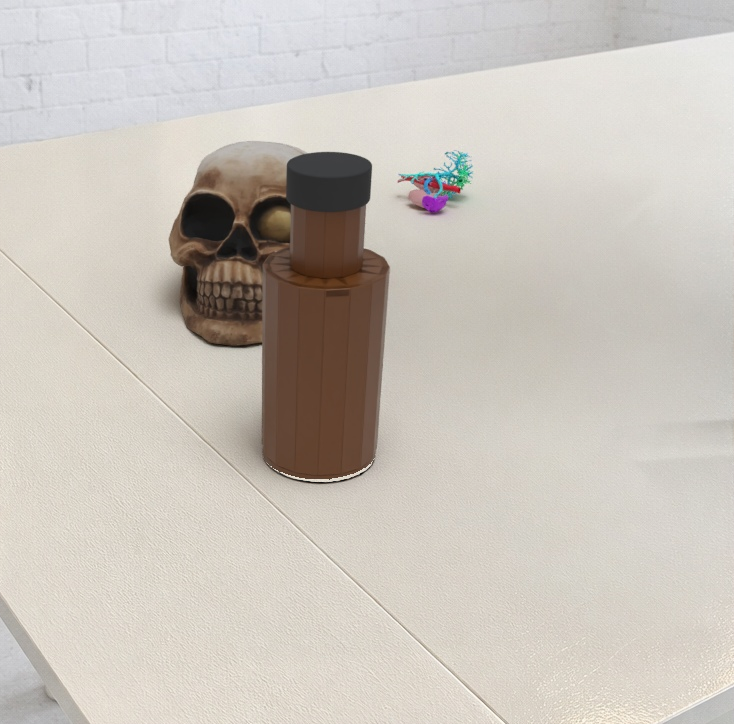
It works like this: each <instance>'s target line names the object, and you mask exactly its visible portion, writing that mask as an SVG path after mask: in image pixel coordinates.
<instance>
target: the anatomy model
mask: <svg viewBox="0 0 734 724" xmlns="http://www.w3.org/2000/svg"><path fill="white" fill-rule="evenodd" d="M455 152H457V153H455ZM449 154H451V155H450V156H449ZM468 154H469V153H468V152H465V153H464V152H461V151H460V150H457V149H455V150H453V151H450V152H449V151H446V152H444V156H446V158H448V160H451V161H452V162H453V163H454V165H455V167H454V168H452V169H451V167H452V166H453V163H452V162H450V165H446V161H443V166H444V167H445V168H446V169H447V170H445V169H442V167H441V166H440V168H436V167H433V171H437V172H424V171H419V172H418V173H413V174H411V173H410V174H404V173H398V176H399V177H400V178H399V179H397V184H398V183H401V182H410V183H411V184H412V185H414V187H416V188H417V189H413V190H410V191H409V192H408V194H407V195H408V199H409V201H410V202H411V203H412V204H414V205H416V206H417V207H419V208H422V209H425V210H427V211H428V212H429V213H432V214H434V213H437V212H439V211H441V210H442V209H444V208H445V206H446V205H447V202H448V199H455V197H453V195H455V196H457V197H460V195H459V194H460V193H461V191H463V190H464V187H465V184H470V185H471V184H472V183H471V182H472V181H471V180H470V179H469V178H471V179H472V180H473V178H474V177H473V176H472V175H474V171H472V170H471V169H472V168H473V167H474V165H473V163H471V164H468V163H467V162H472V161H473V159H470V160H468V158H471V156H470V155H468ZM452 155H453V156H452ZM454 156H455V157H454ZM440 171H441V172H440ZM455 171H456V174H454V173H455ZM443 179H444V180H443Z"/></svg>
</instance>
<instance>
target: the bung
mask: <svg viewBox="0 0 734 724" xmlns="http://www.w3.org/2000/svg"><path fill="white" fill-rule="evenodd" d="M306 153H307V154H303V155H299V156H296V157H294V158H292V159H290V160H289V161H288V163H287V176H286V199H287V201H288V202H289V203H290V204H292V205H293V206H296V207H298V208H301V209H305V210H310V211H318V212H342V211H349V210H353V209H357V208H360V207H363V206H364V205H366V206H367V204H369V202H370V201H371V193H372V176H373V164H372V162H371V161H370V160H369V159H368V158H366V157H363V156H361V155H358V154H353V153H349V152H342V151H341V152H339V151H315V152H306Z"/></svg>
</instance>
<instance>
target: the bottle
mask: <svg viewBox="0 0 734 724" xmlns="http://www.w3.org/2000/svg"><path fill="white" fill-rule="evenodd" d="M366 215H367V204H366V205H364V206H363V207H360V208H357V209H353V210H349V211H342V212H318V211H310V210H305V209H301V208H298V207H296V206H293V205H292V204H291V224H290V247H287V248H283V249H281V250H279V251H277V252H275V253H272V254H270V255H269V256H268V257H267V259H266V260H265V262H264V263H263V288H262V343H261V447H262V448H261V449H262V450H261V451H262V453H263V454H262V458H263V457H264V458H263V460H264V459H265V460H264V462H265V461H266V462H267V463H268V464H269V465H270V466H272V468H274V469H276V470H278V471H279V472H283V473H285V474H288V475H291V476H295V477H299V478H305V479H329V480H330V479H332V478H338V477H343V476H347V475H350V474H354V473H356V472H358V471H360V470H362V469H363V468H366V467H367V466H368V465H369V464H371V462H372V461H373V459H374V458H375V459H376V455H375V454H377V453H376V452H377V448H378V440H379V439H378V437H379V425H380V424H379V423H380V409H381V399H382V398H381V396H382V381H383V369H384V368H383V367H384V355H385V342H386V329H387V328H386V326H387V313H388V300H389V286H390V273H391V266H390V265H389V262H388V261H387V260H386V258H385V257H384V256H382V255H380V254H379V253H377V252H375V251H373V250H371V249H370V248H369V249H368V248H365V234H366V233H365V232H366ZM266 462H265V463H266ZM267 463H266V464H267Z"/></svg>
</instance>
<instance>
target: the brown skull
mask: <svg viewBox="0 0 734 724" xmlns="http://www.w3.org/2000/svg"><path fill="white" fill-rule="evenodd" d="M307 153H308V152H307V151H305V150H303V149H301V148H300V147H296V146H293V145H290V144H287V143H282V142H276V141H275V142H274V141H264V140H245V141H237V142H234V143H229V144H227V145H224V146H222V147H219V148H218V149H216V150H214V151H212V152H211V153H209V154H207V155H206V156H205V157H203V159H202V160H201V161H200V163H199V165H198V167H197V169H196V174H195V177H194V180H193V184H192V187H191V189H190V190H189V191H188V193H187V194H186V195H185V197H184V198H183V201H182V204H181V206H180V208H179V209H180V210H179V213H177V215H176V218H175V219H174V221H173V224H172V227H171V229H170V233H169V236H168V244H169V250H170V257H171V259H172V261H173V262H174V264H177V265H178V266H180V267H182V275H181V279H180V280H181V284H180V285H181V286H180V294H179V295H180V296H179V304H180V308H181V313H182V317H183V318H184V322H185V326H186V328H187V329H189V330H190V331H191V332H192V333H195V334H197V335H199V336H201V337H202V338H203V340H205V341H207V342H208V343H210V344H214V345H225V346H232V347H234V346H246V345H247V346H248V345H251V344H262V288H263V263H264V262H265V260H266V259H267V257H268V256H269V255H270V254H272V253H275V252H277V251H279V250H281V249H283V248H287V247H290V224H291V204H290V203H289V202H288V201H287V199H286V176H287V163H288V161H289V160H290V159H292V158H294V157H296V156H299V155H303V154H307Z"/></svg>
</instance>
